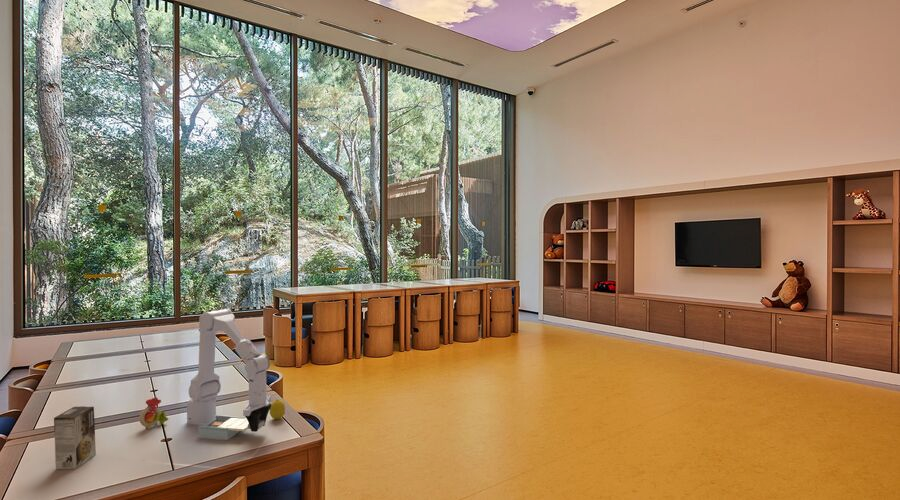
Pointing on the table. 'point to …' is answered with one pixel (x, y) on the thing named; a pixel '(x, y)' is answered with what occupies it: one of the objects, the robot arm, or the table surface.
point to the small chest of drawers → (239, 424)
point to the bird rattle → (152, 414)
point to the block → (216, 424)
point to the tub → (217, 429)
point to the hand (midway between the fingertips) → (258, 428)
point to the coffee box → (74, 437)
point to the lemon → (277, 409)
